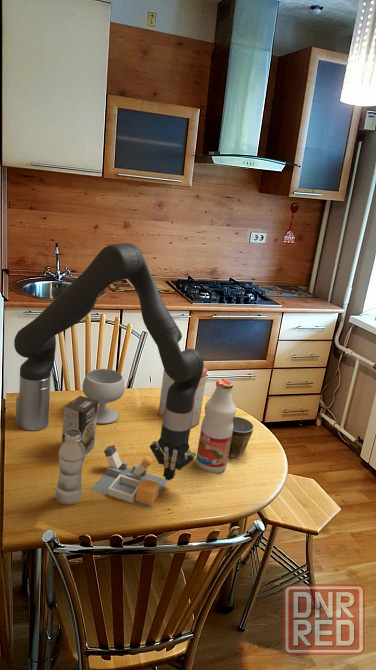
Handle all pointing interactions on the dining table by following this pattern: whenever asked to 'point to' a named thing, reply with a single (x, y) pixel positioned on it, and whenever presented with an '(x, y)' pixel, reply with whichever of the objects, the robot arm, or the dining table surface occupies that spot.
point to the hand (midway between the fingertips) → (168, 478)
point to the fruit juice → (216, 429)
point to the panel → (125, 483)
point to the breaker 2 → (142, 466)
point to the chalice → (104, 392)
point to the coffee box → (81, 420)
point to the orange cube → (147, 492)
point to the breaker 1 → (113, 457)
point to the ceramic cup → (240, 436)
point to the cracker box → (197, 396)
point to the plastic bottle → (70, 468)
